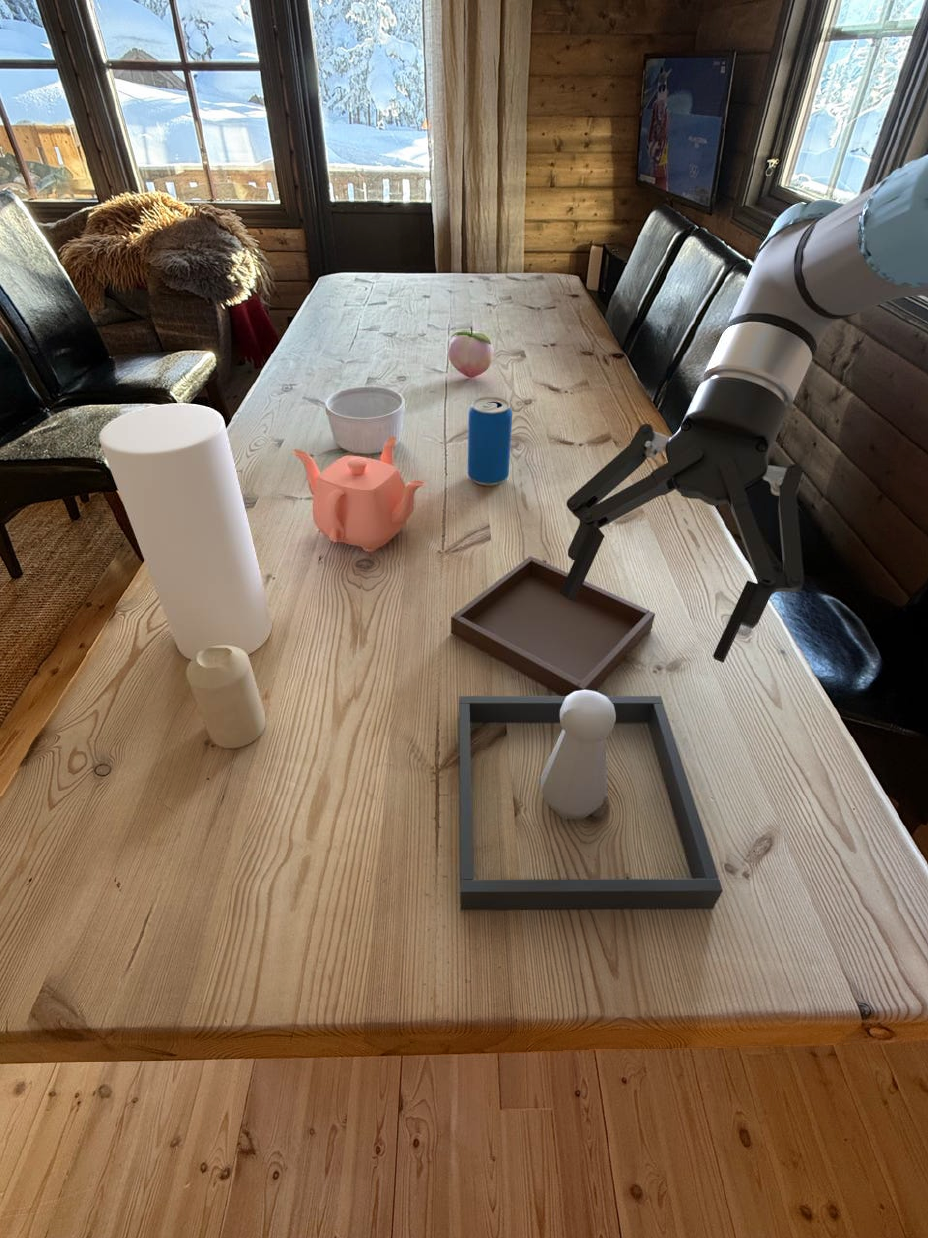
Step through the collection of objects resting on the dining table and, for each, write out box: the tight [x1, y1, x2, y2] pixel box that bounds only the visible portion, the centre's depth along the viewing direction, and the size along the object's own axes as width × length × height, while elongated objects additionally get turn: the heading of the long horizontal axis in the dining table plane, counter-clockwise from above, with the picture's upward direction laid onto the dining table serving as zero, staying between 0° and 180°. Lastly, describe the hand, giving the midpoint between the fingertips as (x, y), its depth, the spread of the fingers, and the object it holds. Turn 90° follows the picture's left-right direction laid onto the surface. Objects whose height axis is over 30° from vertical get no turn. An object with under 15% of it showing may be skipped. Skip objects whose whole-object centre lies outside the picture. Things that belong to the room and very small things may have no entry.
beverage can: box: [467, 396, 513, 486], centre depth 100 cm, size 6×6×12 cm
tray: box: [450, 555, 656, 696], centre depth 76 cm, size 18×16×3 cm
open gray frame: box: [458, 695, 724, 911], centre depth 58 cm, size 20×20×3 cm
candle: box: [185, 645, 267, 749], centre depth 62 cm, size 6×6×10 cm
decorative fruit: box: [447, 326, 494, 379], centre depth 133 cm, size 9×8×10 cm
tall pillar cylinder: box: [98, 403, 273, 661], centre depth 68 cm, size 11×11×25 cm
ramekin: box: [324, 385, 406, 455], centre depth 111 cm, size 13×13×7 cm
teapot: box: [292, 437, 426, 552], centre depth 88 cm, size 14×14×11 cm
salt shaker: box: [540, 690, 616, 820], centre depth 55 cm, size 6×6×13 cm
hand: (638, 627), depth 56 cm, fingers open, 13 cm apart
